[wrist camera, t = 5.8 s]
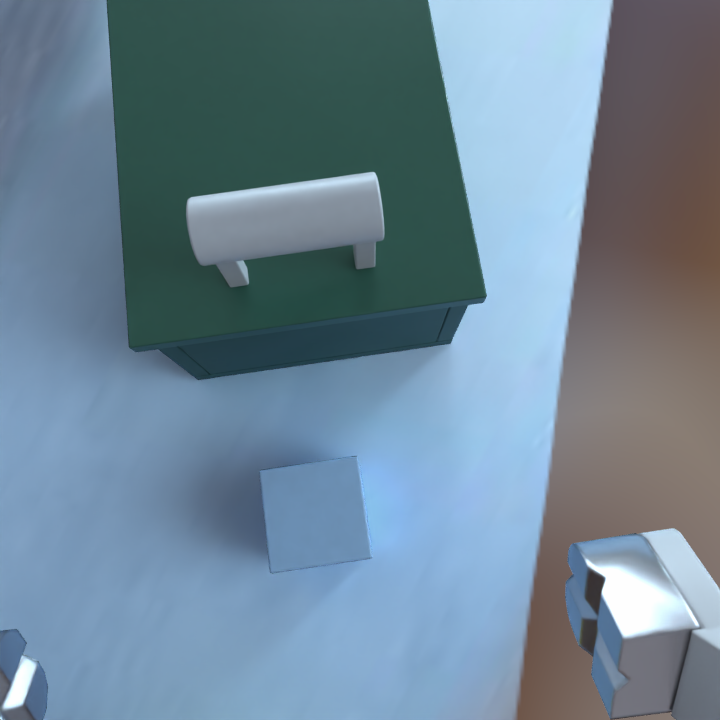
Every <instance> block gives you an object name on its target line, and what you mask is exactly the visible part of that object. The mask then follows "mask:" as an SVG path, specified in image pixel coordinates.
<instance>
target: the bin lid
mask: <svg viewBox="0 0 720 720" xmlns="http://www.w3.org/2000/svg"><path fill="white" fill-rule="evenodd" d="M107 13H108V29H109V44H110V60H111V75H112V91H113V107H114V122H115V138H116V153H117V169H118V185H119V200H120V216H121V231H122V247H123V262H124V278H125V294H126V309H127V325H128V340H129V348H130V349H132V350H133V351H135V352H142V351H149V350H156V349H163V348H170V347H177V346H184V345H191V344H198V343H205V342H212V341H219V340H226V339H233V338H240V337H247V336H254V335H261V334H268V333H275V332H282V331H289V330H296V329H303V328H310V327H317V326H324V325H331V324H338V323H345V322H352V321H359V320H366V319H373V318H380V317H387V316H394V315H401V314H408V313H414V312H421V311H428V310H435V309H442V308H449V307H456V306H463V305H470V304H477V303H483V302H484V301H485V299H486V297H487V294H486V289H485V284H484V279H483V274H482V269H481V264H480V259H479V254H478V249H477V244H476V239H475V234H474V229H473V224H472V219H471V214H470V209H469V204H468V199H467V194H466V189H465V184H464V179H463V174H462V169H461V164H460V159H459V154H458V149H457V143H456V138H455V133H454V128H453V123H452V118H451V113H450V108H449V103H448V98H447V93H446V88H445V83H444V78H443V73H442V68H441V63H440V58H439V53H438V48H437V43H436V38H435V33H434V28H433V23H432V18H431V13H430V8H429V3H428V0H107Z"/></svg>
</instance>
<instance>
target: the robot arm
mask: <svg viewBox="0 0 720 720" xmlns="http://www.w3.org/2000/svg"><path fill="white" fill-rule="evenodd" d="M568 563H569V566H570V568H571V570H572V572H573V575H572V576H571V577H570V578H569V579H568V580H567V581H566V593H565V594H566V596H565V598H566V604H567V611H568V616H569V619H570V623H571V626H572V629H573V632H574V634H575V637H576V639H577V642H578V644H579V646H580V647H581V648H582V649H584V650H585V651H587V652H588V653H589V654H590V655H592V656H593V665H592V673H591V675H592V678H593V680H594V682H595V684H596V687H597V689H598V691H599V694H600V696H601V698H602V701H603V703H604V705H605V708H606V710H607V712H608V715H609V717H610V719H619V718H628V717H636V716H643V715H651V714H659V713H667V712H672V714H671V716H672V717H674V718H675V719H676V720H720V589H719V588H718V586H717V585H716V583H715V582H714V580H713V579H712V577H711V576H710V574H709V573H708V572H707V570H706V569H705V567H704V566H703V564H702V563H701V561H700V560H699V559H698V557H697V556H696V554H695V553H694V551H693V550H692V548H691V547H690V546H689V544H688V543H687V541H686V540H685V538H684V537H683V536H682V534H681V533H680V532H678V531H677V530H675V529H674V528H673V529H665V530H659V531H652V532H645V533H640V534H636V533H634V534H628V535H622V536H616V537H611V538H604V539H598V540H591V541H585V542H580V543H573V544H572V545H571V546H570V548H569V552H568ZM26 644H27V642H26V641H25V640H24V638H23V637H22V635H21V634H20V633H19V631H18V630H17V629H12V630H3V631H0V720H43V718H44V715H45V712H46V709H47V694H48V684H47V680H46V676H45V672H44V670H43V668H42V667H41V665H40V663H39V662H38V661H36V660H34V659H32V658H30V657H28V656H26V655H24V654H23V652H24V649H25V646H26Z"/></svg>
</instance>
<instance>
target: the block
mask: <svg viewBox="0 0 720 720" xmlns="http://www.w3.org/2000/svg"><path fill="white" fill-rule="evenodd" d="M259 474H260V484H261V493H262V502H263V512H264V521H265V530H266V540H267V549H268V559H269V568H270V573H278V572H285V571H292V570H298V569H305V568H312V567H318V566H325V565H332V564H338V563H345V562H352V561H359V560H365V559H371V558H372V546H371V539H370V532H369V525H368V518H367V511H366V504H365V497H364V490H363V483H362V476H361V469H360V463H359V459H358V457H357V456H352V457H345V458H338V459H331V460H325V461H318V462H311V463H304V464H297V465H290V466H284V467H277V468H270V469H263V470H260V471H259Z"/></svg>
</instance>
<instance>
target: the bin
mask: <svg viewBox="0 0 720 720" xmlns="http://www.w3.org/2000/svg"><path fill="white" fill-rule="evenodd" d="M467 306H468V305H463V306H456V307H449V308H442V309H435V310H428V311H421V312H414V313H408V314H401V315H394V316H387V317H380V318H373V319H366V320H359V321H352V322H345V323H338V324H331V325H324V326H317V327H310V328H303V329H296V330H289V331H282V332H275V333H268V334H261V335H254V336H247V337H240V338H233V339H226V340H219V341H212V342H205V343H198V344H191V345H184V346H177V347H170V348H163V349H159V350H160V351H161V352H162V353H164V354H165V355H166V356H168V357H169V358H170V359H172V360H173V361H174V362H175V363H177V364H178V365H179V366H181V367H182V368H183V369H185V370H186V371H187V372H188V373H190V374H191V375H192V376H194V377H195V378H196V379H198V380H201V379H208V378H215V377H222V376H229V375H236V374H243V373H250V372H257V371H264V370H271V369H278V368H285V367H292V366H299V365H306V364H313V363H320V362H327V361H333V360H340V359H347V358H354V357H361V356H368V355H375V354H382V353H389V352H396V351H403V350H410V349H417V348H424V347H431V346H438V345H445V344H450V343H451V341H452V339H453V337H454V334H455V332H456V330H457V328H458V326H459V324H460V321H461V319H462V317H463V315H464V313H465V311H466V309H467Z"/></svg>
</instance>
